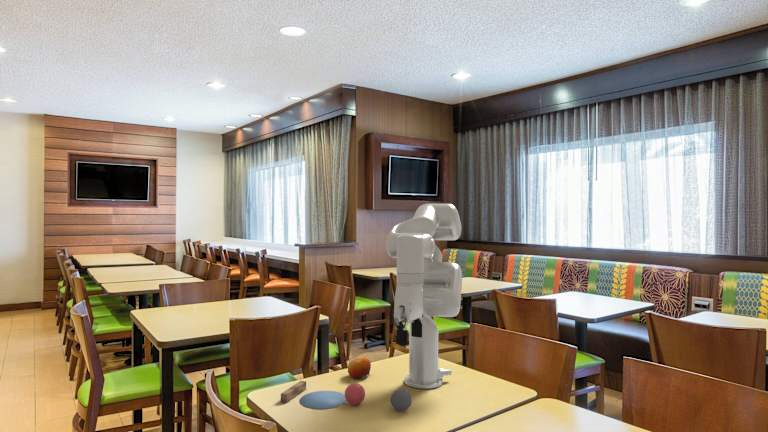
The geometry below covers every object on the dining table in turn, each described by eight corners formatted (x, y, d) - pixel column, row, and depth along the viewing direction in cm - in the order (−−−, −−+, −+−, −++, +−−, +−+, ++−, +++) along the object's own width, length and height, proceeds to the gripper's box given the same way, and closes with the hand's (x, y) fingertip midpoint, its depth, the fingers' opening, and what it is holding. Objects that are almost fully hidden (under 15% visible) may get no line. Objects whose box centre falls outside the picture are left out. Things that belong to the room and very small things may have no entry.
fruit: (373, 377, 161) (361, 356, 162) (353, 388, 162) (341, 366, 163) (378, 370, 169) (367, 349, 170) (359, 380, 170) (348, 360, 171)
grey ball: (406, 405, 141) (406, 384, 141) (415, 413, 136) (415, 391, 136) (387, 408, 139) (387, 387, 139) (395, 416, 133) (395, 394, 133)
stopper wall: (300, 388, 154) (300, 380, 154) (306, 389, 154) (306, 381, 154) (280, 402, 143) (280, 393, 143) (286, 403, 142) (286, 394, 142)
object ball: (361, 399, 146) (361, 379, 146) (367, 406, 140) (368, 385, 140) (341, 401, 144) (342, 381, 144) (347, 409, 138) (348, 388, 138)
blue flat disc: (339, 389, 154) (339, 388, 154) (353, 405, 141) (353, 404, 141) (295, 394, 149) (295, 394, 149) (305, 411, 136) (305, 411, 136)
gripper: (410, 275, 145) (410, 332, 145) (383, 281, 130) (383, 346, 130) (434, 276, 142) (433, 335, 141) (409, 283, 126) (408, 349, 126)
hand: (409, 340), depth 136 cm, fingers open, 9 cm apart
